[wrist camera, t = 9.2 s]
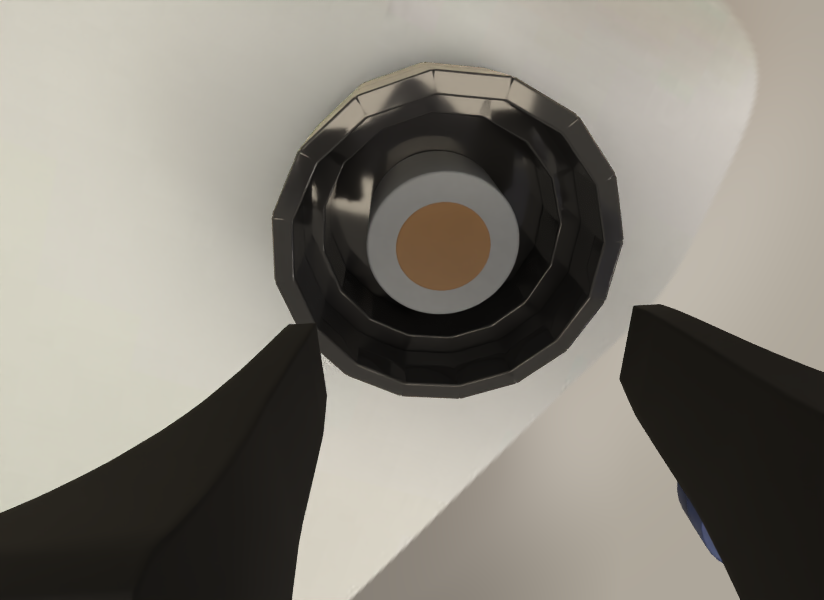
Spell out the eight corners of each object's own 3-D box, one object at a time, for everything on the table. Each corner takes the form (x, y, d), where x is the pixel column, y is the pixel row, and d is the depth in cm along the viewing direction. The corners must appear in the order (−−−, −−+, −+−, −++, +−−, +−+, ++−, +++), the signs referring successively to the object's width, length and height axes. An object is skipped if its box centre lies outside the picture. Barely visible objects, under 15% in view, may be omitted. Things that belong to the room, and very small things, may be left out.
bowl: (627, 153, 18) (695, 186, 14) (480, 363, 22) (501, 435, 18) (370, -1, 15) (364, -14, 11) (258, 269, 19) (225, 329, 15)
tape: (526, 188, 18) (550, 215, 15) (459, 295, 20) (470, 336, 17) (406, 124, 17) (410, 141, 14) (347, 244, 18) (341, 280, 16)
